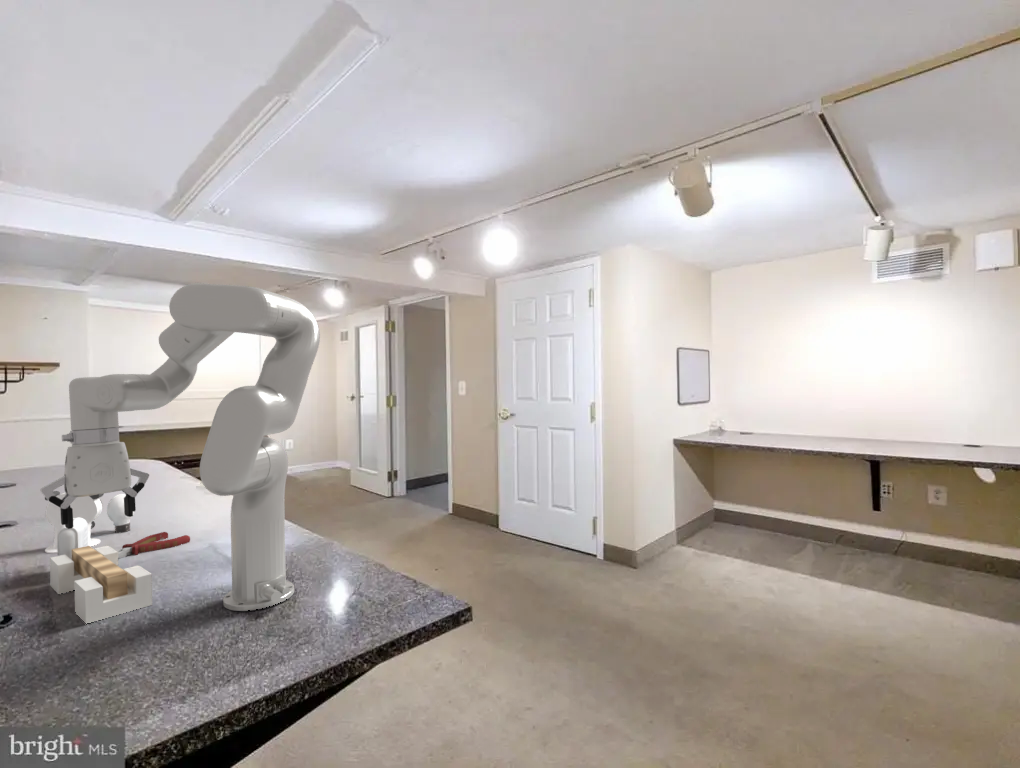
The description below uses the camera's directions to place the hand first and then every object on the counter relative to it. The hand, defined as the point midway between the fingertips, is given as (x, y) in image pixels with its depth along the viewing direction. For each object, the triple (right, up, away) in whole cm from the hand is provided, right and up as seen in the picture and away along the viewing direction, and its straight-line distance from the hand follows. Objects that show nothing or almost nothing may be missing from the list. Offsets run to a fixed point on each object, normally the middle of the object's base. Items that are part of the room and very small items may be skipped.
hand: (100, 521), depth 103 cm
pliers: (-13, -16, +30) cm, 36 cm away
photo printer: (-17, -16, +13) cm, 26 cm away
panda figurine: (-34, -16, +33) cm, 50 cm away
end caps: (0, -15, 0) cm, 15 cm away
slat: (-1, -12, 0) cm, 12 cm away
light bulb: (-32, -16, +47) cm, 59 cm away
